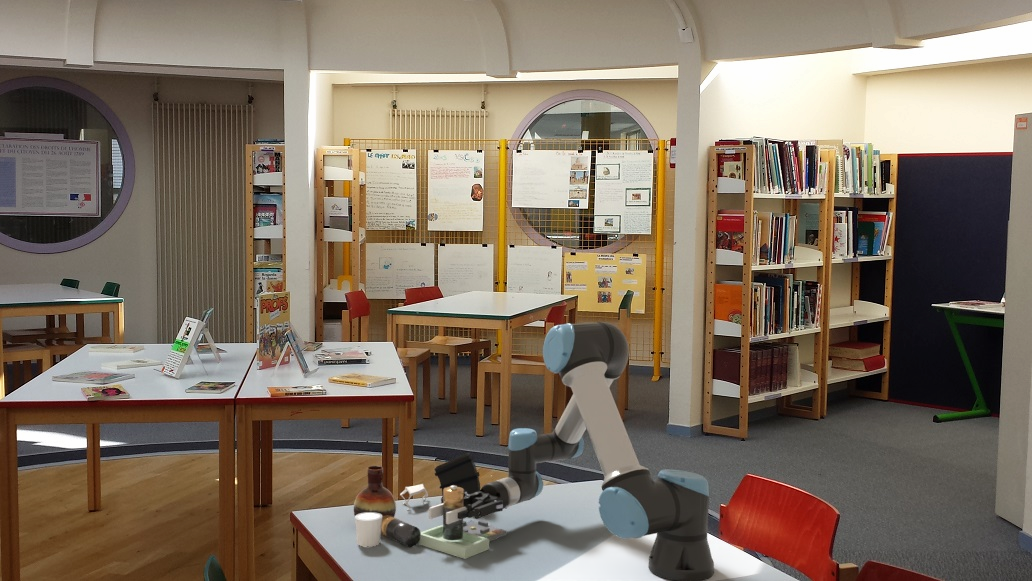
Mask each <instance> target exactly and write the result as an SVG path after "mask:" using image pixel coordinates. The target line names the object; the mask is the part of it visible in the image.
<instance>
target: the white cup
mask: <svg viewBox="0 0 1032 581" xmlns="http://www.w3.org/2000/svg"><path fill="white" fill-rule="evenodd" d="M354 522H355V535H356V544H358V545H357V546H359V545H361V546H374V547H377V546H379V545H380V544H381V536H382V534H381V526H382V515H381V514H379V513H375V512H365V513H360V514H357V515H356V516H355V515H354ZM379 543H380V544H379ZM378 544H379V545H378ZM376 545H377V546H376ZM361 546H360V547H361Z"/></svg>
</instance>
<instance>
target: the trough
mask: <svg viewBox="0 0 1032 581" xmlns="http://www.w3.org/2000/svg"><path fill="white" fill-rule="evenodd" d="M420 533H421V535H420V540H419V542H418V543H417V544H416V545H419V544H420V546H422V545H423V546H424V547H426V548H428V549H429V548H430V549H433V550H435V551H439V552H442V553H444V554H448V555H451V556H455V557H457V558H461V559H464V560H466V559H468V558H470V557H474V556H476V555H478V554H481V553H482V552H486V551H487V550H490V541H489V539H488V538H485V537H481V536H478V535H475V534H471V533H468V532H464V531H463V538H462V539H459V540H446V539H444V538H443V524H441V525H438V526H435V527H432V528H430V529H426V530H423V531H420Z"/></svg>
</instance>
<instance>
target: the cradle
mask: <svg viewBox="0 0 1032 581" xmlns="http://www.w3.org/2000/svg"><path fill="white" fill-rule="evenodd" d="M463 531H464V532H468V533H471V534H475V535H478V536H481V537H485V538H488V539H489V542H491V541H493V540H496V539H498V538H501V537H504V536H506V535H507V529H506V530H505V529H502V528H498V527H495V526H491V525H489V522H487V521H484V520H478V522H477V521H473V520H470V521H468V522H467V521H466V520H463Z"/></svg>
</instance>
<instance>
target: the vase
mask: <svg viewBox="0 0 1032 581" xmlns="http://www.w3.org/2000/svg"><path fill="white" fill-rule="evenodd" d="M366 469H367V486H366V487H365V488H363V489H362V490H361V491H360V492H358V494H357V495H356V497H355V500H354V503H353V515H354V517H355V516H356V515H357V514H360V513H365V512H375V513H379V514H381V515H382V517H383V516H385V515H389V516H392V517H394V518H395V516H396V512H397V506H396V505H397V503H396V499H395V497H394V495H393V493H392V492H391V491H390V490H389V489H388V488H386V487H384V486H383V475H384V474H383V473H384V467H383V466H380V465H370V466H368V467H367V468H366Z"/></svg>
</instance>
